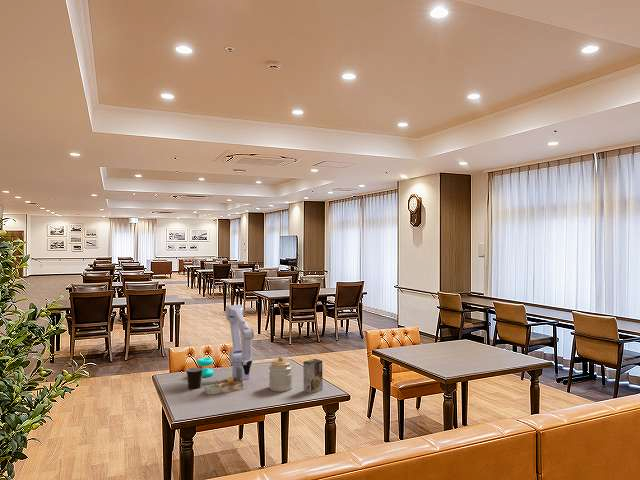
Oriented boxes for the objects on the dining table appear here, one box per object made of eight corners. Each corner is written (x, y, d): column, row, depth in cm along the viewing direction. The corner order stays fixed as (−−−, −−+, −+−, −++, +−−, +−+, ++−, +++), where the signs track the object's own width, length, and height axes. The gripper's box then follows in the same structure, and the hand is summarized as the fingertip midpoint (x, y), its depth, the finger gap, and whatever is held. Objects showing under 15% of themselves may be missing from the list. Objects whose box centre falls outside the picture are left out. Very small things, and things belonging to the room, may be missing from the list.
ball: (232, 382, 258) (232, 375, 258) (234, 383, 255) (234, 377, 255) (226, 383, 256) (226, 376, 256) (228, 384, 253) (228, 378, 253)
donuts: (193, 359, 279) (205, 356, 288) (193, 376, 279) (205, 372, 288) (204, 362, 274) (216, 358, 283) (204, 378, 274) (216, 374, 283)
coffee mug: (198, 390, 253) (198, 372, 253) (183, 389, 254) (183, 371, 254) (207, 383, 264) (207, 366, 264) (193, 382, 266) (193, 365, 266)
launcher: (236, 384, 262) (236, 377, 262) (243, 389, 255) (243, 381, 255) (215, 388, 255) (215, 381, 255) (221, 393, 247) (221, 385, 248)
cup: (216, 389, 254) (216, 383, 254) (221, 392, 248) (221, 387, 248) (204, 391, 250) (204, 386, 250) (209, 395, 245) (209, 389, 245)
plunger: (238, 379, 261) (238, 367, 261) (242, 382, 256) (242, 369, 256) (233, 380, 259) (233, 367, 259) (237, 383, 255) (237, 369, 255)
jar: (276, 383, 265) (276, 352, 265) (296, 386, 259) (296, 355, 259) (264, 390, 253) (264, 358, 253) (284, 393, 247) (284, 360, 247)
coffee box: (314, 387, 258) (314, 358, 258) (322, 389, 254) (322, 360, 254) (302, 390, 252) (302, 361, 252) (311, 393, 247) (310, 363, 247)
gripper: (242, 347, 268) (242, 370, 268) (237, 353, 254) (237, 378, 254) (254, 347, 268) (254, 370, 268) (250, 353, 254) (250, 378, 253)
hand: (246, 374), depth 261 cm, fingers closed
